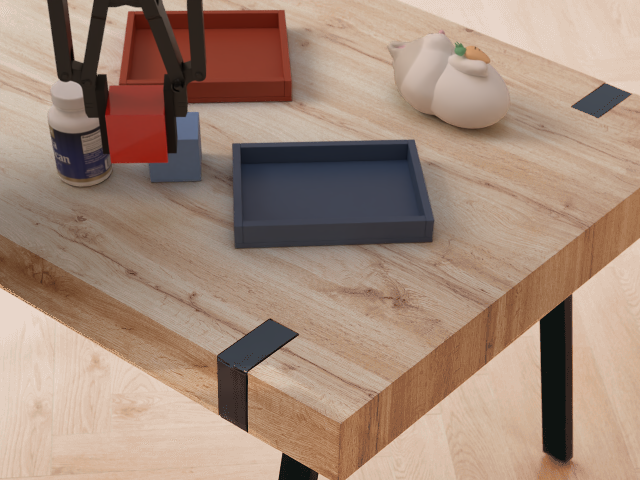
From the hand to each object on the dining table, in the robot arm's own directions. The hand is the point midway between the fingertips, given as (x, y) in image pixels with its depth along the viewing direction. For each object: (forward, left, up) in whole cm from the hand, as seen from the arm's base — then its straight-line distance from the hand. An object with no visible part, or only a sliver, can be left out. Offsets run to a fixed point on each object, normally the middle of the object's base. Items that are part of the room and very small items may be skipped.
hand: (140, 144), depth 97 cm
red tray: (+5, +29, -8) cm, 31 cm away
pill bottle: (-7, +8, -9) cm, 13 cm away
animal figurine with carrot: (+31, +18, -9) cm, 37 cm away
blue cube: (+2, +8, -8) cm, 12 cm away
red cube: (0, 0, 0) cm, 0 cm away
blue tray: (+17, +2, -8) cm, 19 cm away
